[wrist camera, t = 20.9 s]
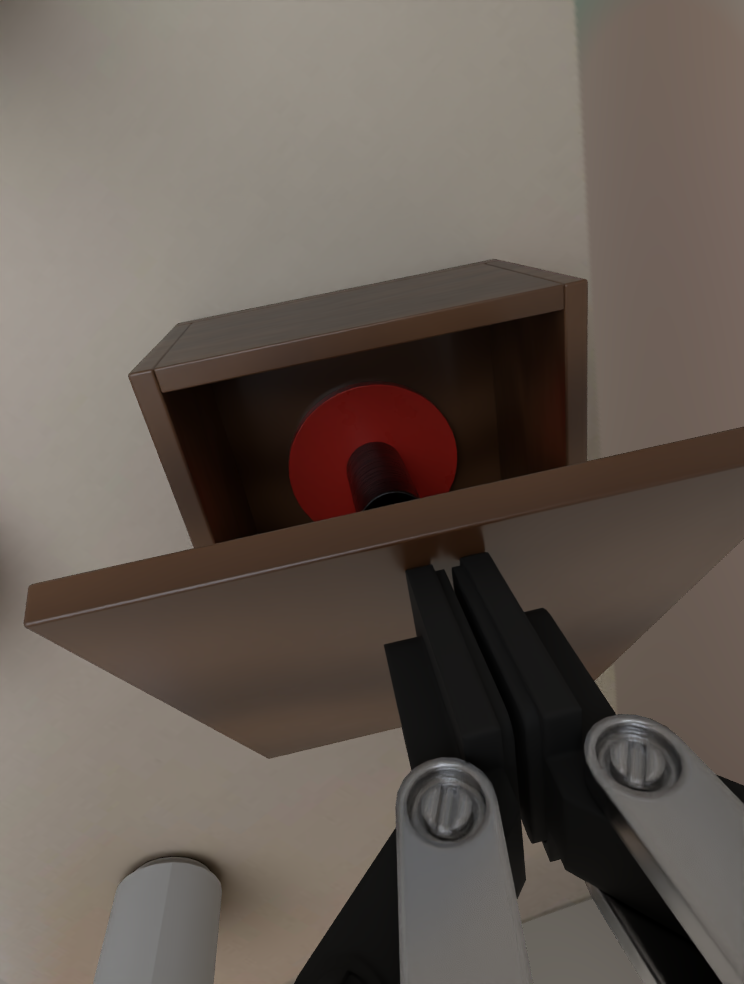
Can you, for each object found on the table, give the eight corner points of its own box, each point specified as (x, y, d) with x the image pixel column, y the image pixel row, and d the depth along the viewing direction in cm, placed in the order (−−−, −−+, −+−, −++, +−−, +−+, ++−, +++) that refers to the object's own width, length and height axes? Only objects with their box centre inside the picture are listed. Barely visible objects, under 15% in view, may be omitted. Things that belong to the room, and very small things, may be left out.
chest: (176, 323, 25) (126, 374, 17) (495, 258, 25) (588, 278, 18) (271, 613, 32) (267, 740, 25) (515, 558, 33) (586, 664, 25)
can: (117, 912, 43) (61, 1143, 32) (119, 850, 40) (58, 1083, 29) (218, 908, 44) (197, 1128, 34) (227, 848, 41) (207, 1070, 31)
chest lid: (27, 583, 10) (21, 627, 9) (819, 408, 10) (848, 441, 10) (266, 739, 24) (267, 759, 24) (587, 663, 25) (594, 681, 25)
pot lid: (384, 343, 26) (410, 378, 20) (485, 466, 29) (531, 523, 24) (252, 459, 27) (243, 521, 22) (363, 562, 31) (379, 637, 25)
